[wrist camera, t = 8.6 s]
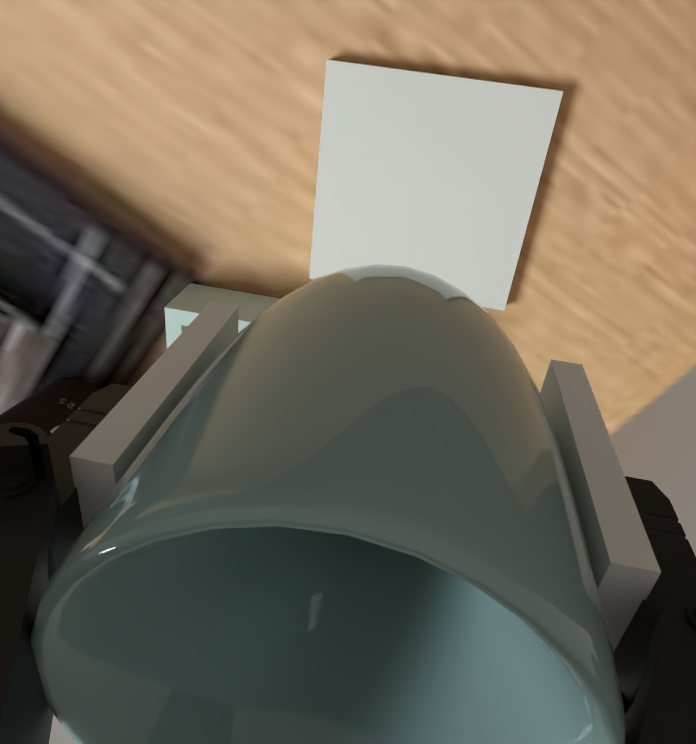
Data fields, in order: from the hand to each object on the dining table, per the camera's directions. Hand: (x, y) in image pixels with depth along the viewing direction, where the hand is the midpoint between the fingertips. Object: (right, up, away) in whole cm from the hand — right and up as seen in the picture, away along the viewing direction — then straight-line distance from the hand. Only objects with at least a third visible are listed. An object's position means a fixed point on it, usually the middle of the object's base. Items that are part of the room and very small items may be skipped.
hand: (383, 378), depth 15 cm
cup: (0, 0, +1) cm, 1 cm away
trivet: (+3, +10, +18) cm, 21 cm away
